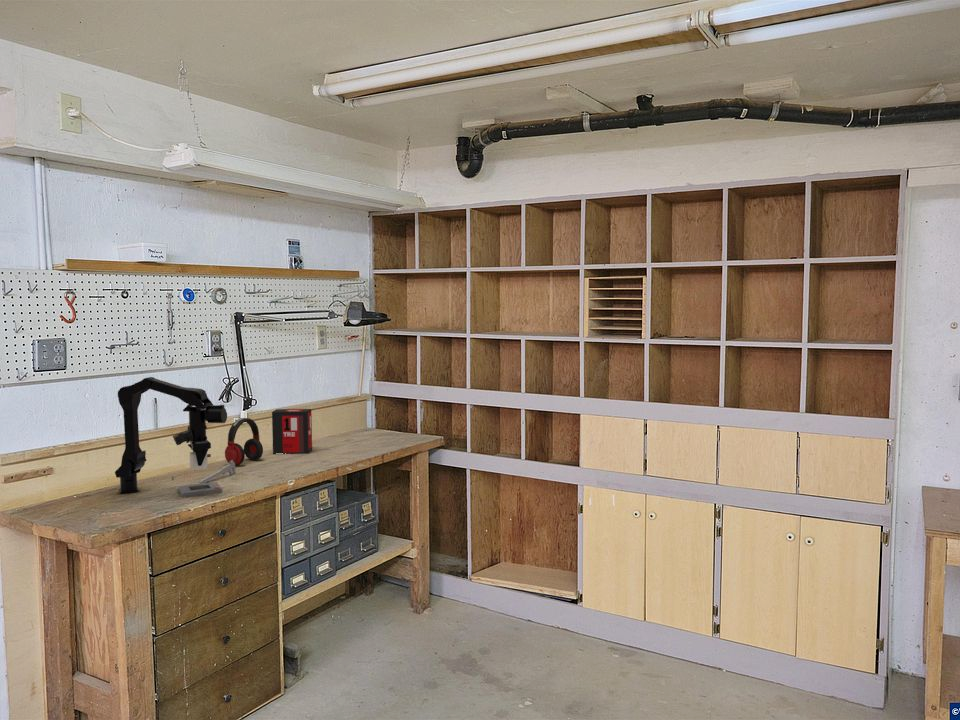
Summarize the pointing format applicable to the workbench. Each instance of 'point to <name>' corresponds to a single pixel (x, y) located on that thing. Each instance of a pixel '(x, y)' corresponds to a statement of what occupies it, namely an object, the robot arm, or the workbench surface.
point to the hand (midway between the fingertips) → (198, 464)
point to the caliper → (221, 472)
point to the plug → (195, 465)
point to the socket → (199, 489)
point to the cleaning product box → (292, 431)
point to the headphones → (251, 446)
